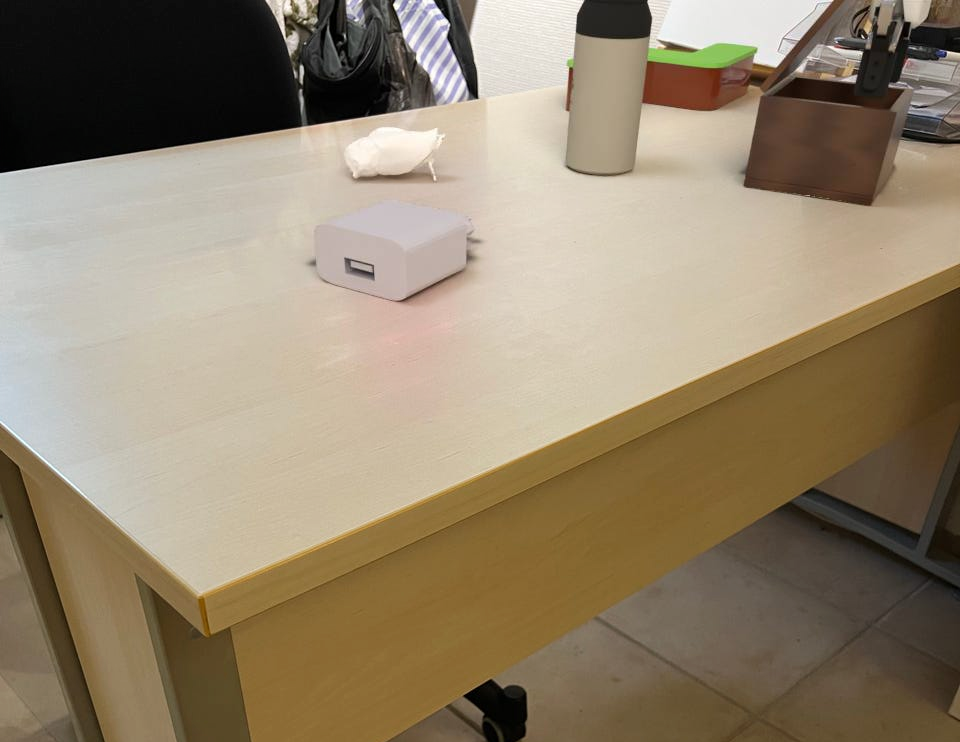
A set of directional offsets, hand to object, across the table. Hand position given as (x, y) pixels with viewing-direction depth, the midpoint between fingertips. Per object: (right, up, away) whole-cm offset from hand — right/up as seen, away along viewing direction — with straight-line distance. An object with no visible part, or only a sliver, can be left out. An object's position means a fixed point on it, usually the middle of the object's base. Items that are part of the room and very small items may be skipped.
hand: (876, 88), depth 100 cm
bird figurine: (-52, -8, +4) cm, 52 cm away
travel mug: (-28, -4, +10) cm, 30 cm away
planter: (-15, +21, +39) cm, 47 cm away
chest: (-3, -6, +7) cm, 10 cm away
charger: (-48, -26, -17) cm, 57 cm away
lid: (-5, +6, -2) cm, 8 cm away
